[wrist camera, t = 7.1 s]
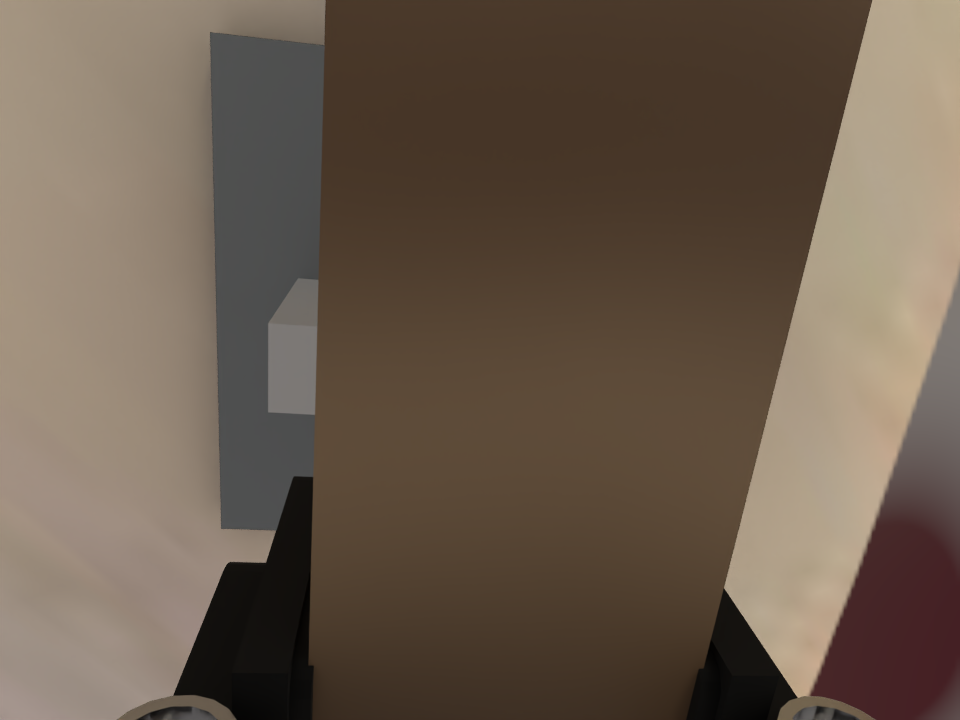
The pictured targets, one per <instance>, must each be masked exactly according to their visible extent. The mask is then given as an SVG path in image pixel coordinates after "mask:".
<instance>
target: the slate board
mask: <svg viewBox="0 0 960 720" xmlns="http://www.w3.org/2000/svg"><path fill="white" fill-rule="evenodd" d="M210 47H211V92H212V136H213V181H214V225H215V269H216V314H217V358H218V403H219V447H220V491H221V529H250V530H277V527H278V524H279V520H280V517H281V514H282V511H283V508H284V504H285V501H286V498H287V495H288V492H289V489H290V485H291V482H292V479H293V477H294V476H304V477H313V471H314V433H315V394H316V356H317V317H318V279H319V241H320V202H321V164H322V125H323V87H324V48H325V46H324V45H316V44H307V43H298V42H290V41H281V40H272V39H264V38H255V37H247V36H238V35H229V34H221V33H212V32H210Z"/></svg>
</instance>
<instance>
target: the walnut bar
mask: <svg viewBox="0 0 960 720" xmlns="http://www.w3.org/2000/svg"><path fill="white" fill-rule="evenodd" d="M871 3H872V0H326V10H325V48H324V87H323V125H322V164H321V202H320V241H319V279H318V317H317V356H316V394H315V433H314V471H313V510H312V548H311V587H310V625H309V664H308V665H311V666H314V676H313V710H312V720H686V718H687V714H688V710H689V706H690V702H691V698H692V694H693V690H694V686H695V682H696V678H697V674H698V670H699V669H703V668H704V664H705V660H706V656H707V653H708V649H709V645H710V641H711V637H712V633H713V629H714V625H715V621H716V617H717V613H718V609H719V605H720V601H721V597H722V593H723V589H724V585H725V581H726V577H727V573H728V569H729V565H730V561H731V558H732V554H733V550H734V546H735V542H736V538H737V534H738V530H739V526H740V522H741V518H742V514H743V510H744V506H745V502H746V498H747V494H748V490H749V486H750V482H751V478H752V474H753V470H754V466H755V462H756V459H757V455H758V451H759V447H760V443H761V439H762V435H763V431H764V427H765V423H766V419H767V415H768V411H769V407H770V403H771V399H772V395H773V391H774V387H775V383H776V379H777V375H778V371H779V367H780V364H781V360H782V356H783V352H784V348H785V344H786V340H787V336H788V332H789V328H790V324H791V320H792V316H793V312H794V308H795V304H796V300H797V296H798V292H799V288H800V284H801V280H802V276H803V272H804V268H805V265H806V261H807V257H808V253H809V249H810V245H811V241H812V237H813V233H814V229H815V225H816V221H817V217H818V213H819V209H820V205H821V201H822V197H823V193H824V189H825V185H826V181H827V177H828V173H829V170H830V166H831V162H832V158H833V154H834V150H835V146H836V142H837V138H838V134H839V130H840V126H841V122H842V118H843V114H844V110H845V106H846V102H847V98H848V94H849V90H850V86H851V82H852V78H853V74H854V71H855V67H856V63H857V59H858V55H859V51H860V47H861V43H862V39H863V35H864V31H865V27H866V23H867V19H868V15H869V11H870V7H871Z"/></svg>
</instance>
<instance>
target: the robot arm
mask: <svg viewBox="0 0 960 720" xmlns="http://www.w3.org/2000/svg"><path fill="white" fill-rule="evenodd" d="M312 510H313V477H304V476H294V477H293V479H292V482H291V485H290V489H289V492H288V495H287V498H286V501H285V504H284V508H283V511H282V514H281V517H280V520H279V524H278V527H277V530H276V533H275V536H274V539H273V543H272V546H271V549H270V552H269V555H268V559H267V562H266V563H247V562H229V563H228V564H227V565H226V567H225V569H224V571H223V573H222V576H221V578H220V581H219V583H218V586H217V588H216V591H215V593H214V596H213V598H212V601H211V603H210V606H209V608H208V611H207V613H206V616H205V618H204V620H203V623H202V625H201V628H200V630H199V633H198V635H197V638H196V640H195V643H194V645H193V648H192V650H191V653H190V655H189V658H188V660H187V663H186V665H185V668H184V670H183V673H182V675H181V678H180V680H179V683H178V685H177V688H176V690H175V693H174V695H173V696H170V697H166V698H161V699H157V700H153V701H150V702H147V703H145V704H143V705H141V706H139V707H137V708H134V709H132V710H130V711H128V712H127V713H125V714H124V715H123V716H121V717H120V718H118V719H117V720H312V710H313V676H314V666H311V665H308V664H309V625H310V587H311V548H312ZM686 720H875V719H873V718H872V717H870V716H868V715H867V714H865V713H864V712H862V711H860V710H858V709H856V708H854V707H851V706H849V705H847V704H845V703H842V702H840V701H836V700H831V699H828V698H824V697H809V696H803V697H800V698H797V696H796V695H795V693H794V692H793V690H792V689H791V687H790V686H789V684H788V683H787V681H786V680H785V678H784V677H783V675H782V674H781V672H780V671H779V669H778V668H777V666H776V665H775V664H774V662H773V661H772V659H771V658H770V656H769V655H768V653H767V652H766V650H765V649H764V647H763V646H762V644H761V643H760V641H759V640H758V638H757V637H756V635H755V634H754V632H753V631H752V629H751V628H750V626H749V625H748V623H747V622H746V620H745V619H744V617H743V616H742V614H741V613H740V611H739V610H738V608H737V607H736V605H735V604H734V602H733V601H732V599H731V598H730V597H729V595H728V594H727V592H726V591H725V589H723V593H722V597H721V601H720V605H719V609H718V613H717V617H716V621H715V625H714V629H713V633H712V637H711V641H710V645H709V649H708V653H707V656H706V660H705V664H704V668H703V669H699V670H698V674H697V678H696V682H695V686H694V690H693V694H692V698H691V702H690V706H689V710H688V714H687V718H686Z"/></svg>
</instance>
